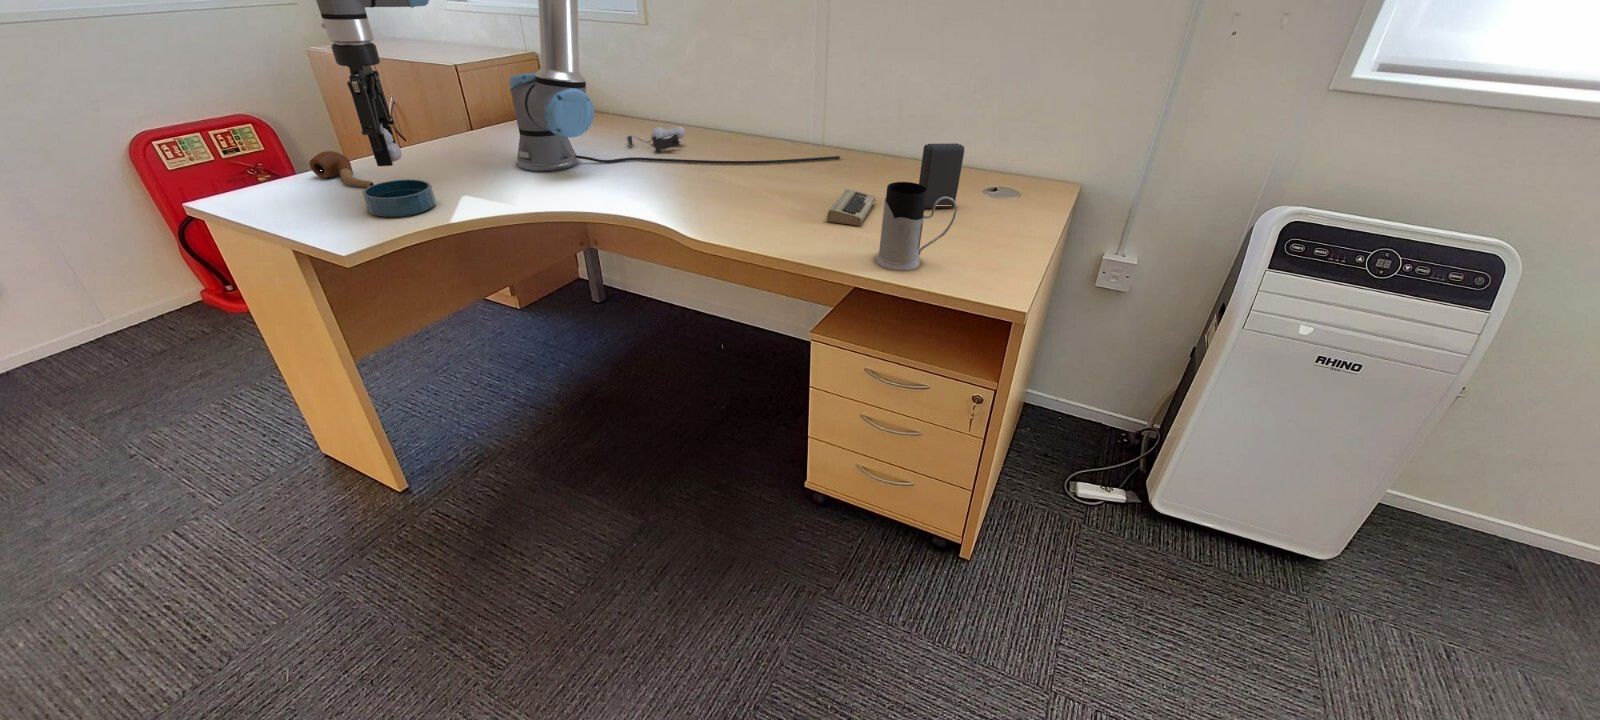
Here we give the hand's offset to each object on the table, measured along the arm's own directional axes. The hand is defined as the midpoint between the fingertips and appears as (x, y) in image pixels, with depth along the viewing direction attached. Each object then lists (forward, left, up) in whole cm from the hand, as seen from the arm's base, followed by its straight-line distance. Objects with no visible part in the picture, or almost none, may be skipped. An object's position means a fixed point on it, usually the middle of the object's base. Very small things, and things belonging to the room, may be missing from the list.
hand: (388, 160), depth 138 cm
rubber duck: (0, 0, 0) cm, 0 cm away
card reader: (-121, +23, -11) cm, 124 cm away
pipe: (+16, -24, -11) cm, 31 cm away
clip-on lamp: (-60, -42, -11) cm, 74 cm away
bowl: (0, 0, -11) cm, 11 cm away
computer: (-99, +23, -11) cm, 102 cm away
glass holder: (-101, +52, -11) cm, 114 cm away
